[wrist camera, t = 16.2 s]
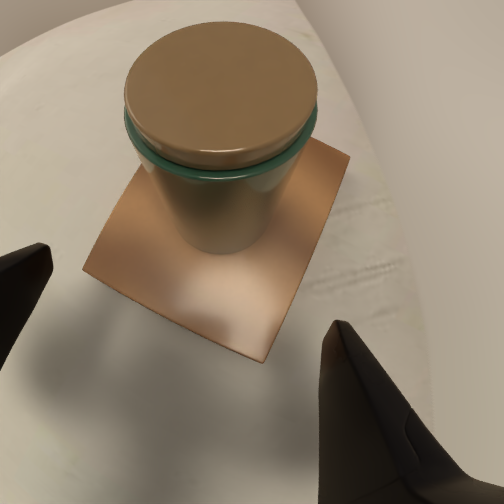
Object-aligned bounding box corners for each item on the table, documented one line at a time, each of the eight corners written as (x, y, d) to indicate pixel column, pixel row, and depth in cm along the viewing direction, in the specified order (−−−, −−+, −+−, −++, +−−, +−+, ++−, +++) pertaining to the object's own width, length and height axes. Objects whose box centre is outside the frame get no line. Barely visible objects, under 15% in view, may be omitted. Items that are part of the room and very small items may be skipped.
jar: (175, 261, 14) (107, 180, 5) (168, 166, 15) (125, 30, 6) (280, 248, 15) (352, 155, 6) (264, 155, 16) (299, 17, 7)
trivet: (259, 360, 15) (263, 364, 14) (92, 273, 15) (81, 269, 14) (342, 167, 18) (351, 156, 16) (195, 104, 18) (193, 89, 16)
